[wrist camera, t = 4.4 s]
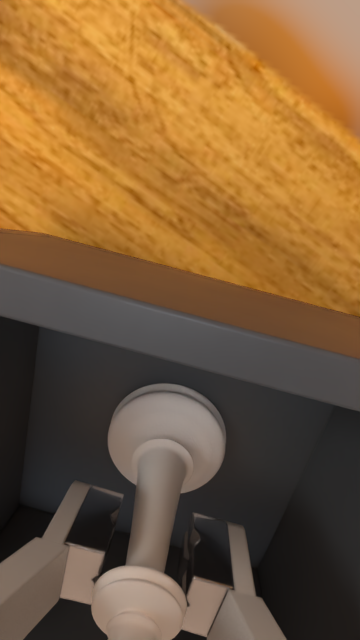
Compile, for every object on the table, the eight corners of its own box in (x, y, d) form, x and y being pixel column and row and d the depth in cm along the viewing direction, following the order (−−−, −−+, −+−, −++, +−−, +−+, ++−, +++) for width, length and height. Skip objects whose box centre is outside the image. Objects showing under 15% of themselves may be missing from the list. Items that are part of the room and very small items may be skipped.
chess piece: (91, 447, 12) (-413, 1372, 2) (146, 360, 10) (-466, 1656, 1) (185, 499, 12) (135, 1484, 2) (249, 422, 11) (656, 1792, 1)
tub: (380, 322, 10) (700, 450, 4) (264, 564, 14) (322, 847, 7) (41, 232, 10) (-235, 201, 4) (13, 497, 14) (-154, 718, 7)
